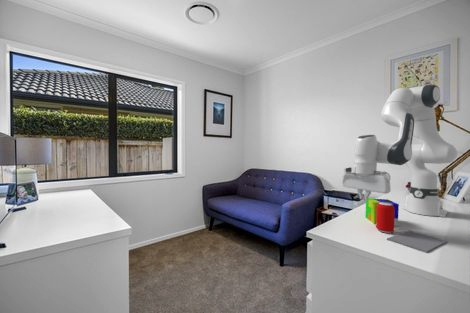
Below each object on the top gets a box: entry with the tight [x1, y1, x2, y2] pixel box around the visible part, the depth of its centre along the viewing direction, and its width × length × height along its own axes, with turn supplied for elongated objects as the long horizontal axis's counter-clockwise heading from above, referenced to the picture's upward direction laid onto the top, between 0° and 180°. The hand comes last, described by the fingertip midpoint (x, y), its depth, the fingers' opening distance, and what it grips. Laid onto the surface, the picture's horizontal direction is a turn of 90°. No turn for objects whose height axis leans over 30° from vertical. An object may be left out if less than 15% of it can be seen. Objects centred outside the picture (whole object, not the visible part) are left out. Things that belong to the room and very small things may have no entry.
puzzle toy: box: [365, 197, 399, 226], centre depth 104 cm, size 10×10×10 cm
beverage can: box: [375, 202, 395, 234], centre depth 90 cm, size 6×6×12 cm
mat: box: [386, 230, 448, 254], centre depth 81 cm, size 18×12×1 cm, turn 119°
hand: (363, 199), depth 98 cm, fingers closed
